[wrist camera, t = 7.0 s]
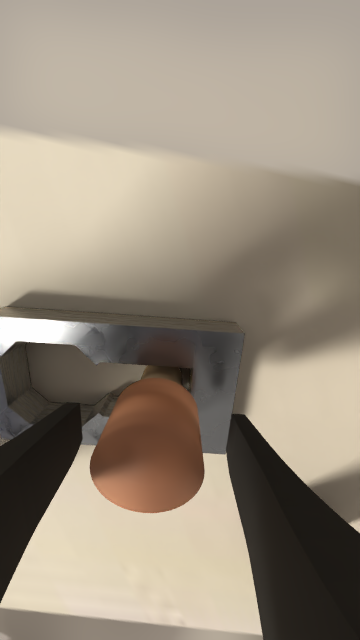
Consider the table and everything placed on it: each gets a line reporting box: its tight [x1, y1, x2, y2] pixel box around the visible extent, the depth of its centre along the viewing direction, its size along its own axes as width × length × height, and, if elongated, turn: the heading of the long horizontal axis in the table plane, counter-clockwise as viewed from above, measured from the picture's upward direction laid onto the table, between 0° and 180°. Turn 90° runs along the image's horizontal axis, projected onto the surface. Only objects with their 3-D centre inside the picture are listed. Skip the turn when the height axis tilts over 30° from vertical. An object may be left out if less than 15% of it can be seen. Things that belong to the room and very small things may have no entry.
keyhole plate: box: [0, 307, 245, 454], centre depth 13 cm, size 14×8×2 cm, turn 86°
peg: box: [90, 365, 204, 513], centre depth 11 cm, size 4×4×6 cm
